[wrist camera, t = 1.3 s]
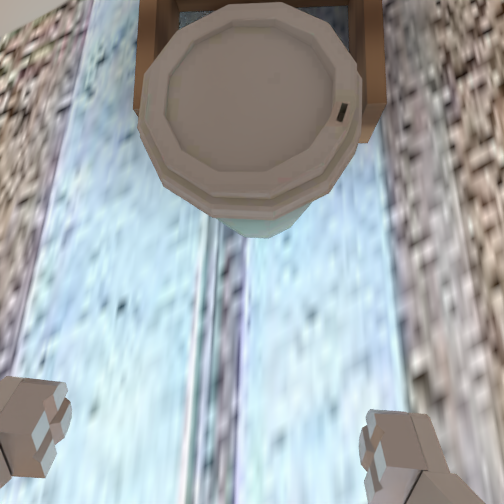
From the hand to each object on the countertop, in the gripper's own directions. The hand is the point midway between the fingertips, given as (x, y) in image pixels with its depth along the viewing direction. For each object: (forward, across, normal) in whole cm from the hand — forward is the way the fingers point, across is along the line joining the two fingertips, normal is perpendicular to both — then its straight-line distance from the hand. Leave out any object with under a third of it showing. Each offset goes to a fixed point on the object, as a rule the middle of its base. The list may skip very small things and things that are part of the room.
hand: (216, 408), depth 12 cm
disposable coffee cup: (+23, -1, +4) cm, 23 cm away
